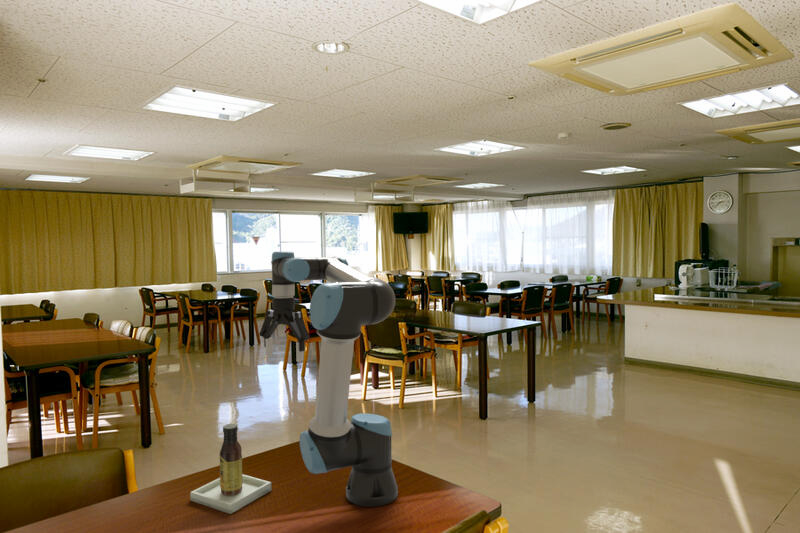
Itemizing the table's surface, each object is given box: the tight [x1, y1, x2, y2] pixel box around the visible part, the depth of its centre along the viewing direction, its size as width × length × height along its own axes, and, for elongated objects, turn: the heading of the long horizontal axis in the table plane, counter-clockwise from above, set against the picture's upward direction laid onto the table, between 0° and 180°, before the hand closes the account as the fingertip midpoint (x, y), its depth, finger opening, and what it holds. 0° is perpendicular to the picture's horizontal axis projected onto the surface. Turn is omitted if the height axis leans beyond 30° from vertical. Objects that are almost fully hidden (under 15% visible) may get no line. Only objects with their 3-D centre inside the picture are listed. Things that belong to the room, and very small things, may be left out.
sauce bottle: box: [219, 423, 243, 495], centre depth 155 cm, size 7×6×20 cm
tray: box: [190, 473, 272, 515], centre depth 156 cm, size 16×16×2 cm
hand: (284, 359), depth 181 cm, fingers open, 13 cm apart
